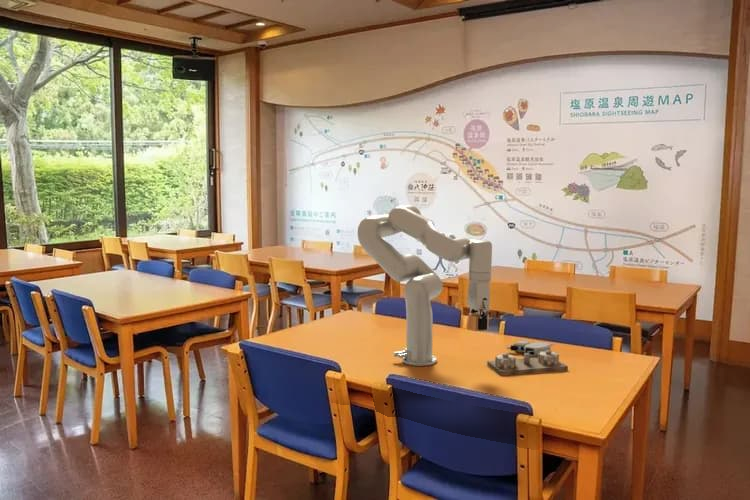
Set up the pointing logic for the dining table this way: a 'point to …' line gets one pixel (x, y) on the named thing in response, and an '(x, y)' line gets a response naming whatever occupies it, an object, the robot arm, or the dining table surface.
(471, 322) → the orange gear
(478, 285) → the robot arm
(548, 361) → the gear board
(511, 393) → the dining table surface
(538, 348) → the robot toy
